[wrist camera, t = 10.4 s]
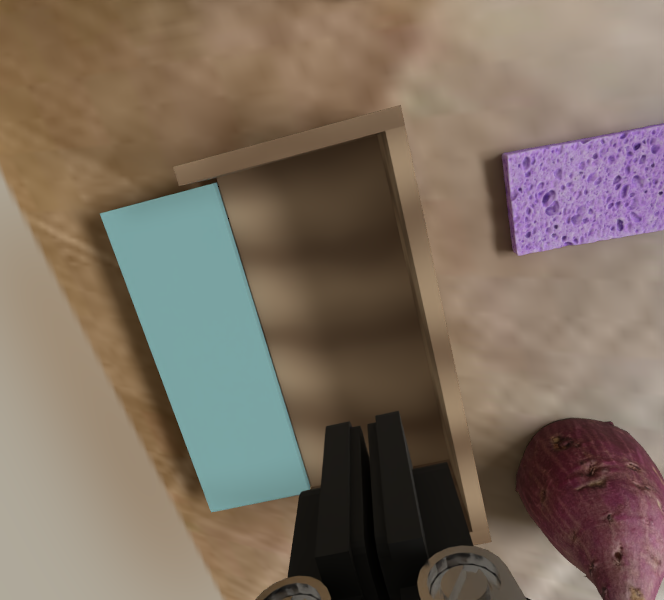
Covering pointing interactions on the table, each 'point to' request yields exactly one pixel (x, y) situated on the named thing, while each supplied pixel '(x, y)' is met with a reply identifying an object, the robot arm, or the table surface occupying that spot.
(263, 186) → the tray
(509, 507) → the table surface
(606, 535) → the vegetable
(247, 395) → the panel
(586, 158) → the sponges
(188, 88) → the table surface
